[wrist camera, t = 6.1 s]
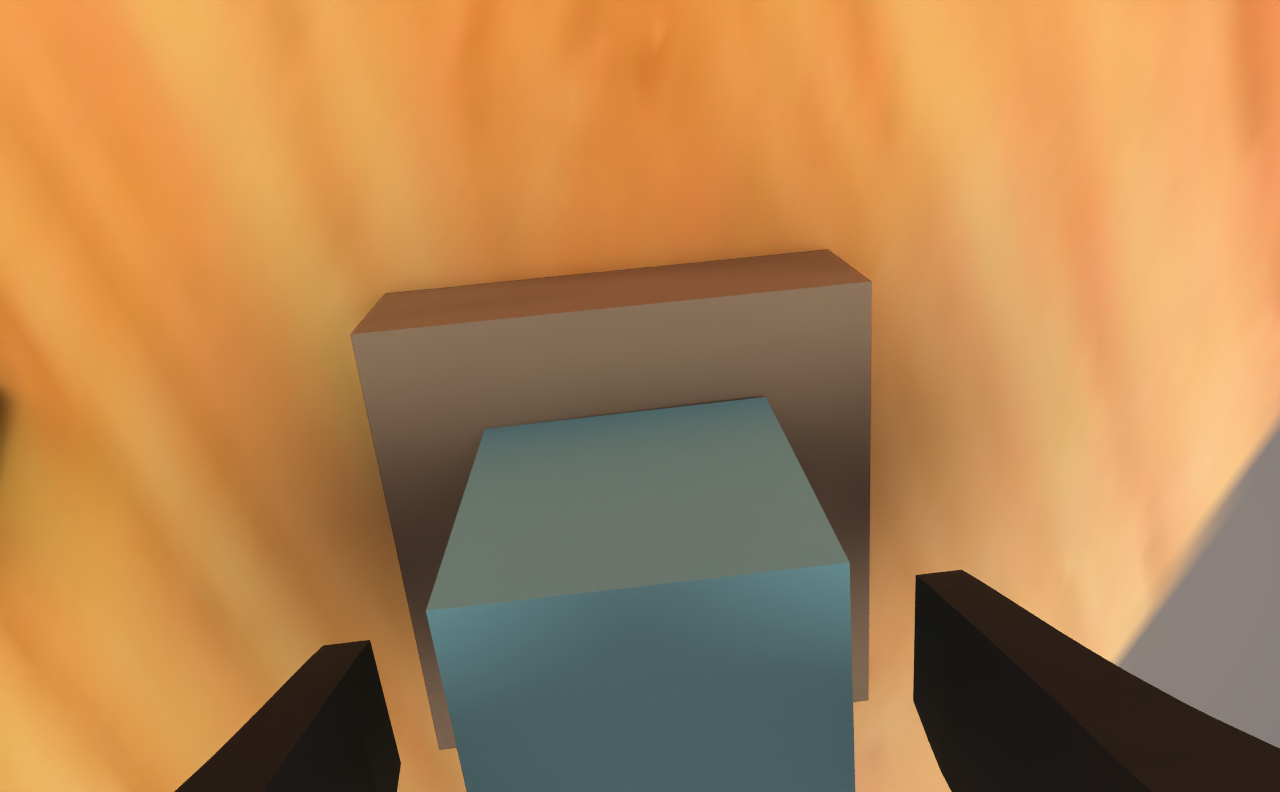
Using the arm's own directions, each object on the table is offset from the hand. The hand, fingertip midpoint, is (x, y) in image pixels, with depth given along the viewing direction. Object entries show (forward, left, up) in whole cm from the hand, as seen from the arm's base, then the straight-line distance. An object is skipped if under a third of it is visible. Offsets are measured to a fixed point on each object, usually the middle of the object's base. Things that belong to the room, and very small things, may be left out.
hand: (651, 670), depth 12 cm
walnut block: (0, 0, -6) cm, 6 cm away
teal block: (0, 0, -3) cm, 3 cm away
